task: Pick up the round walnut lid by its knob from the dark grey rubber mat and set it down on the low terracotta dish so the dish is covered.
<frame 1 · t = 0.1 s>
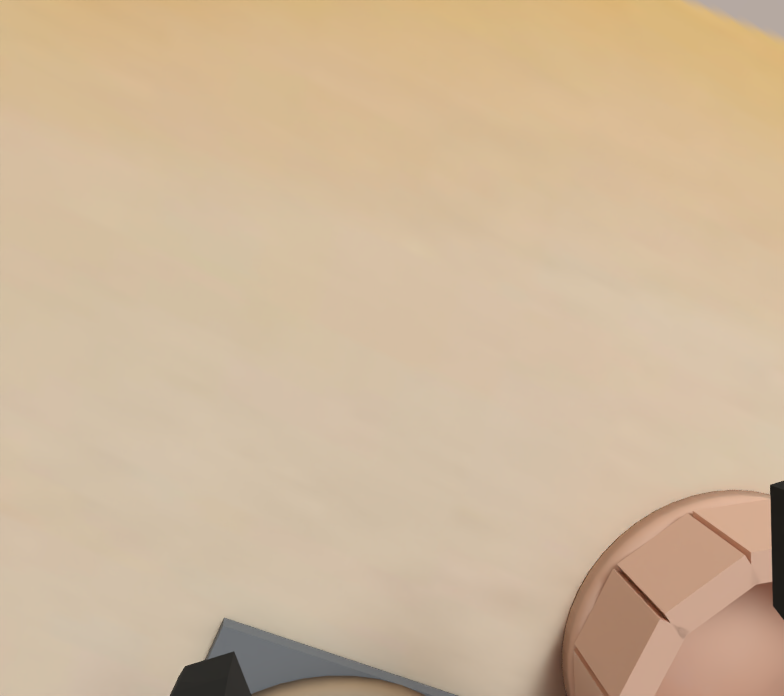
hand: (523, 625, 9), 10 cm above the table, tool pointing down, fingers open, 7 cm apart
dish: (712, 639, 22), on the table
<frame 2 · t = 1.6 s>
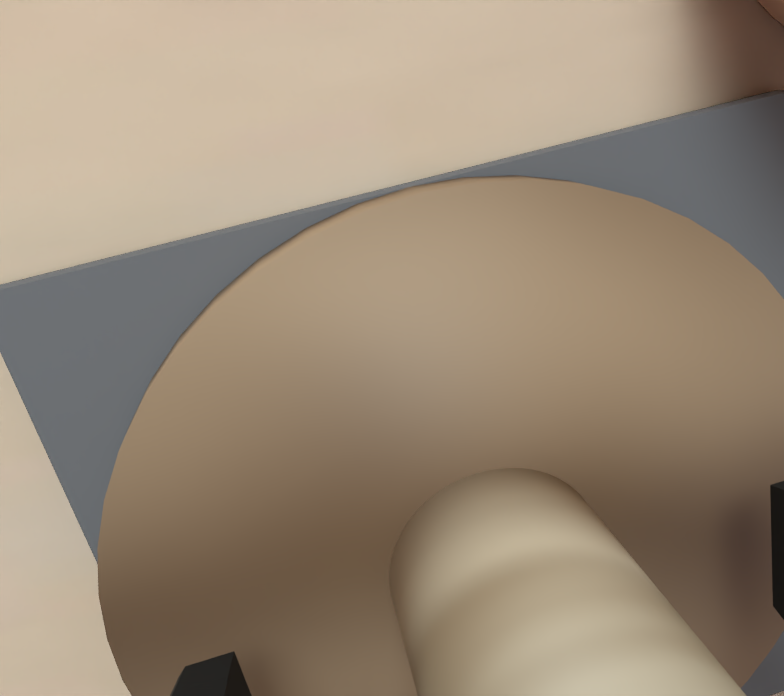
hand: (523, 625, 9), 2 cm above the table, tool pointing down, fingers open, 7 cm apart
lid: (480, 533, 11), resting on mat
mat: (473, 520, 11), on the table
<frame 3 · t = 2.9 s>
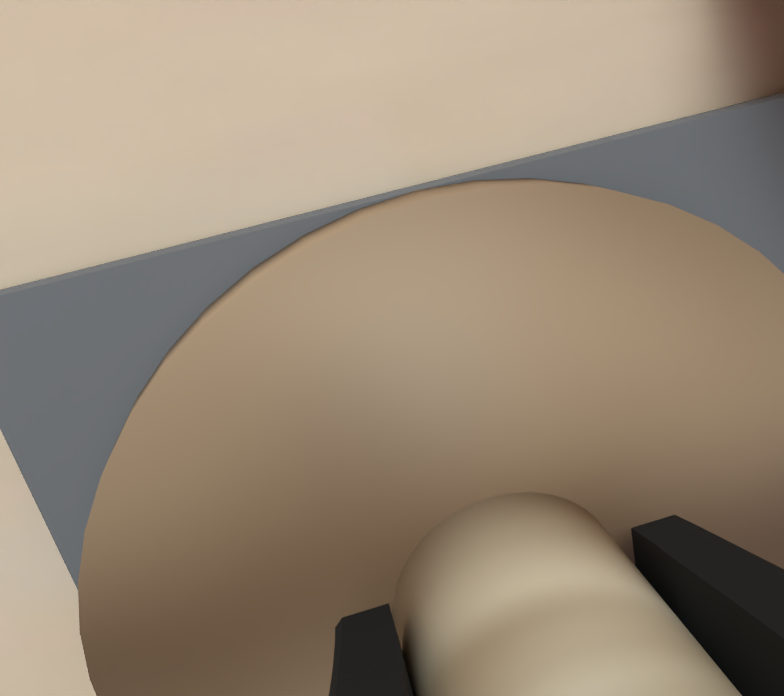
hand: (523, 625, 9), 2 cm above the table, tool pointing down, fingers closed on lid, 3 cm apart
lid: (489, 559, 10), resting on mat, touching gripper
mat: (481, 543, 11), on the table
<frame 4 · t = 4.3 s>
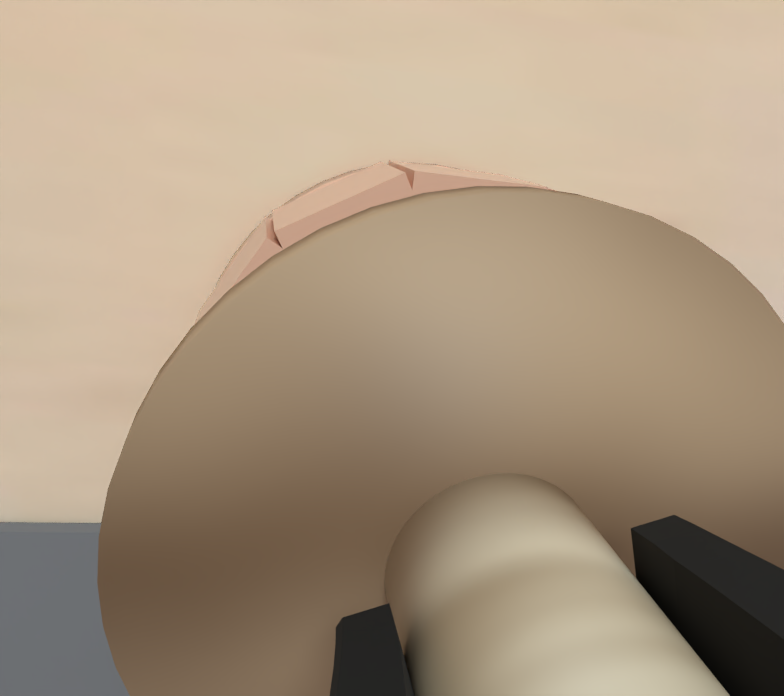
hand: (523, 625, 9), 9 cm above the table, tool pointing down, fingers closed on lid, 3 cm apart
dish: (405, 369, 17), on the table
lid: (474, 537, 11), point 7 cm above the table, touching gripper
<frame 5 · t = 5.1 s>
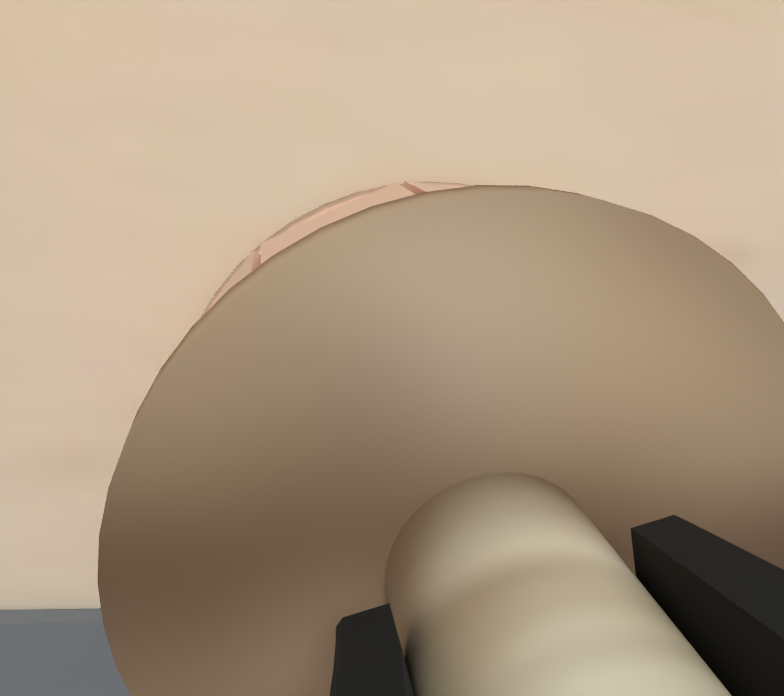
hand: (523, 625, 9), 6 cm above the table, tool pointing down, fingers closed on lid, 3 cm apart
dish: (421, 425, 14), on the table
lid: (475, 536, 11), point 4 cm above the table, touching gripper
when the fingers open (6 cm above the table, at t = 5.6 s): lid stays where it is, resting on dish.
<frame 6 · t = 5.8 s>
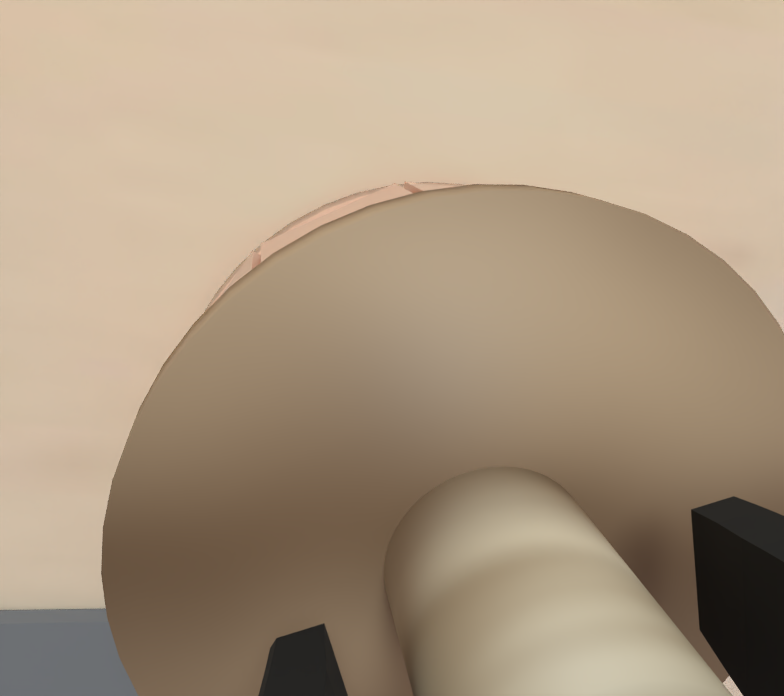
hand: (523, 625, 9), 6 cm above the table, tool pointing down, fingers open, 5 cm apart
dish: (421, 426, 14), on the table
lid: (472, 530, 11), point 4 cm above the table, touching dish
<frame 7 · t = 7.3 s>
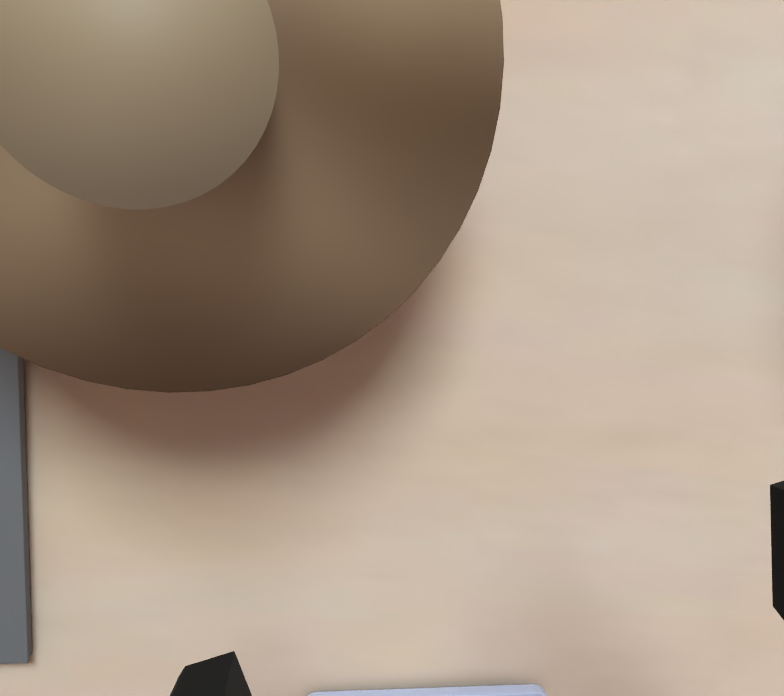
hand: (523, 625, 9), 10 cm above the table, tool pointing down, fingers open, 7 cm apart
lid: (174, 72, 12), point 4 cm above the table, touching dish
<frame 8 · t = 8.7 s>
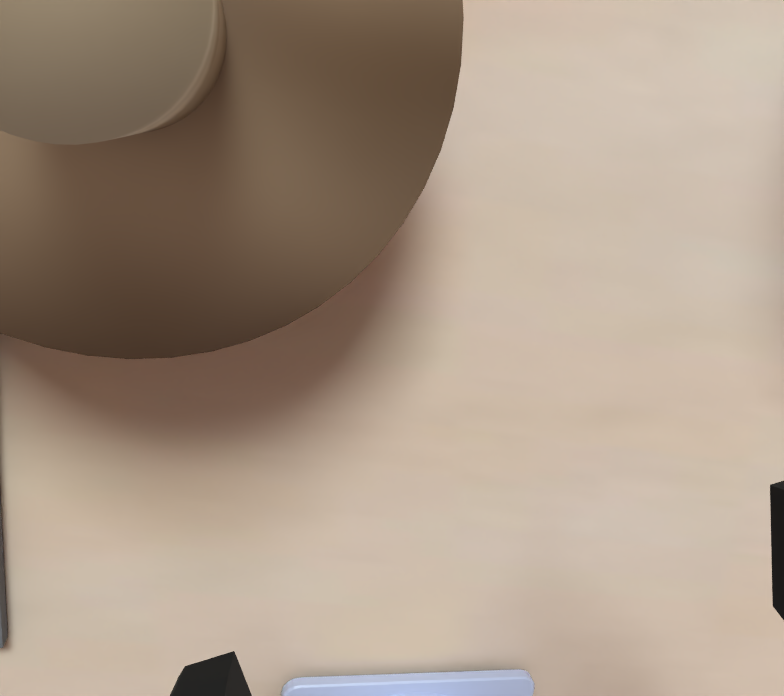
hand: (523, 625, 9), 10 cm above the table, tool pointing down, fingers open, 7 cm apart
lid: (129, 30, 11), point 4 cm above the table, touching dish
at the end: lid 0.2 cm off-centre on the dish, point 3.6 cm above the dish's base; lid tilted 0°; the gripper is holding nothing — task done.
